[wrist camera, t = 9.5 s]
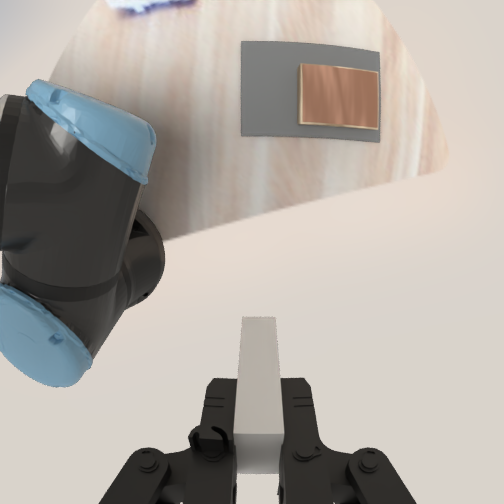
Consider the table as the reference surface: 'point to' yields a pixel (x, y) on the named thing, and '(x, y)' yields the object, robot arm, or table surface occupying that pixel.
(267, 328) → the robot arm
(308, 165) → the table surface
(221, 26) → the table surface
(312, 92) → the brown wooden block
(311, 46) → the mat
